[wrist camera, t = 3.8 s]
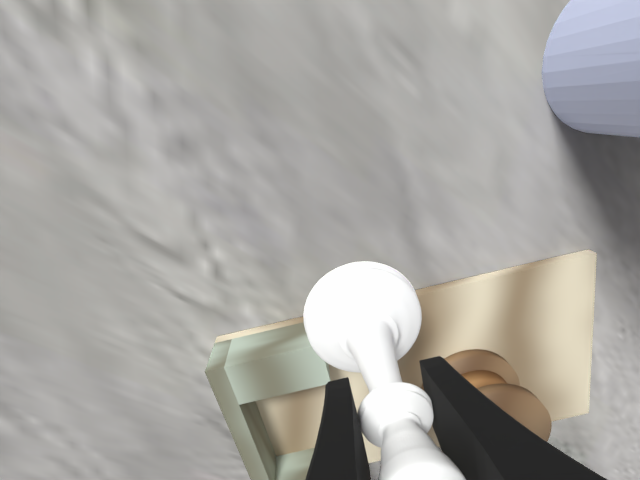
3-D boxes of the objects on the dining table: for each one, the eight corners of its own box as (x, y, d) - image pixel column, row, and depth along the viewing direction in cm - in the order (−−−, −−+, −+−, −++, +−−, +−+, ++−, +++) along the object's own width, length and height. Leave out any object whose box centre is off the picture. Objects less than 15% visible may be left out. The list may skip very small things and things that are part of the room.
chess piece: (323, 247, 14) (376, 488, 5) (436, 278, 15) (676, 543, 6) (289, 350, 16) (277, 698, 6) (394, 374, 16) (528, 720, 7)
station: (588, 249, 21) (657, 282, 17) (582, 406, 25) (636, 462, 21) (216, 336, 21) (199, 389, 17) (272, 476, 25) (268, 544, 21)
